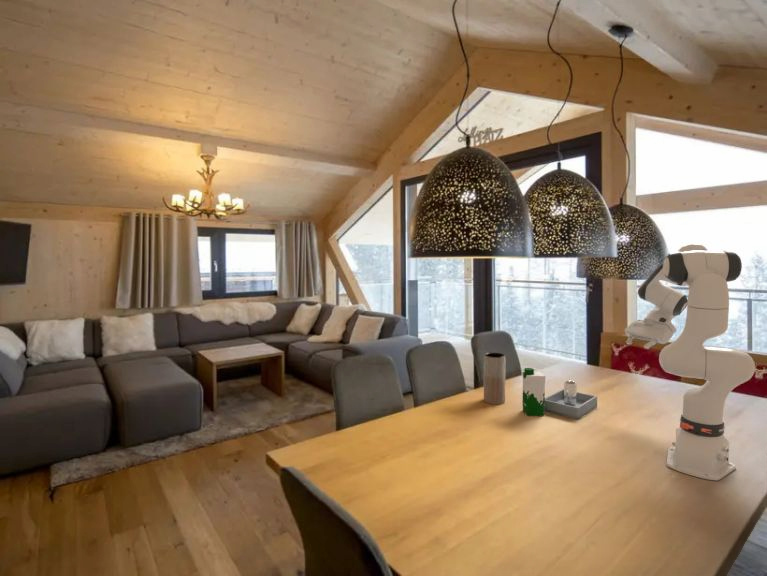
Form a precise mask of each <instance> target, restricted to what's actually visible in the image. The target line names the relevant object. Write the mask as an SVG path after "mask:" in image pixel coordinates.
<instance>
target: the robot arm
mask: <svg viewBox="0 0 767 576" xmlns="http://www.w3.org/2000/svg"><path fill="white" fill-rule="evenodd" d="M742 268H743V265H742V260H741V256H739V255H738V254H737V253H736V252H733V251H727V250H722V251H719V250H718V251H717V250H716V251H715V250H708V248H706V246H704V245H703V244H700V243H695V242H691V243H690V242H689V243H687V244H684V245H682V246H681V247H680V248H679V249H678V250H677V251H675V252H674V251H673V252H671V253H668V254H667V255H666V256H665V259H664V261H663V262H661V263H660V264H659V265H658V266H657V267H656V268H655V269H654V271H653V272H651V274H650V275H649V276H648V277H647V279H645V280H644V281H643V282H642V283H641V284H640V285H639V287H638V290H637V294H638V297H639V298H640V299H641V300H643V301H646V302H648V303H650V304H652V305H654V308H653V309H651V310H650V311H649V313H648V314H646V316H644V319H642V320H641V319H638V320H634V321H633V322H631V323H630V324H629V325H627V327H626V328H624V333H625V335H626V336H627V340H626V341H625V343H626V344H627V345H630V346H631V345H632V344H633V343H634V342H633V340H634V339H637V340H638V339H639V340H643V341H648V342H646V343H644V344H643V348H644V349H646V350H649V349H650V348H651V347H653V346H655V345H656V344H657V343H658V344H661V345H665V344H667V343H668V342H669V341H671V339H672V337H673V336H674V333H676V332H677V328H676V327H675V325H674V324H673V323H672V320H673V319H674V318H676V317H677V316H680V315H681V314H682V312H683V311H684V310H685V309H686V316H685V317H686V318H685V325H684V328H683V330H682V332H681V333H680V335H679V336H678V338H676V339H675V340H674V341H673V342H671V343H670V344H668V345H665V346H664V347H663V348H662V349H661V351H660V352H659V357H658V362H659V365H660V367H661V369H662V370H663V371H664V372H665V373H668V374H671V375H674V376H678V377H683V378H691V379H699V380H705V383H704V384H703V385H701V386H700V385H699V386H698V387H694V388H690V389H688V390H687V391H686V392H685V393H684V394H683V396H682V413H681V415H680V419H679V423H680V424H679V427H677V428H676V429H675V441H673V442H672V446H670V447H667V453H666V467H668V468H669V469H672V470H674V471H676V472H677V471H678V472H680V473H683V474H686V475H690V476H691V477H692V476H693V477H697V478H700V479H704V480H708V481H709V480H710V481H719V480H721V479H723V478H724V477H726V476H727V475H729V474H730V473H732V472H733V471H734V470H736V468H737V467H736V464H734V463H733V462H731V461H730V441H729V440H728V439H727V438H726V437H725V435H724V434H725V422H724V419H723V418H724V410H725V406H726V405H725V404H726V399H727V398H728V396H729V394H730V393H731V392H732V391H733V390H734V389H735V388H736V387H739V386H741V384H744V383H746V382H748V381H750V380H751V379H752V377H753V376H754V374H755V372H756V363H755V361H754V360H753V359H754V358H752V356H751V355H750V354H749V353H747V352H745V351H742V350H741V351H740V350H737V349H732V348H727V347H716V346H715V347H714V346H713V347H712V346H705V345H704V343H706V342H707V341H708V340H711V339H713V338H718V337H720V336H722V335H724V334H725V333H726V331H727V330H728V327H729V314H730V312H729V310H730V294H729V287H728V286H729V285H728V283H729V282H733V281H735V280H737V279H738V278H739V277H740V276H741V274H742V273H741V272H742ZM661 281H664V282H667V283H670V284H672V285H675V286H680V287H688V294H687V295H686V294H684V293H683V292H681V291H680V290H677V289H675V288H673V287H671V286H669V285H667V284H665V283H663V282H661Z"/></svg>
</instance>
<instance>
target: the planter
mask: <svg viewBox="0 0 767 576" xmlns="http://www.w3.org/2000/svg"><path fill="white" fill-rule="evenodd" d="M506 362H507V361H506V354H505V353H502V352H501V353H500V352H486V353H484V354H483V401H484V402H485V403H487V404H490V405H502V404H504V403H505V402H506V364H507V363H506Z"/></svg>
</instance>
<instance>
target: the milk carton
mask: <svg viewBox="0 0 767 576" xmlns="http://www.w3.org/2000/svg"><path fill="white" fill-rule="evenodd" d="M545 395H546V375H545V374H544V373H542V372H541V371H535V369H534V368H531V367H524V370H523V371H522V411H523V412H524V414H525V415H526V416H527V417H544V416H545V411H544V405H545V398H546V396H545Z"/></svg>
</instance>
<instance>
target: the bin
mask: <svg viewBox="0 0 767 576" xmlns="http://www.w3.org/2000/svg"><path fill="white" fill-rule="evenodd" d="M597 407H598V396H597V395H593V394H588V393H583V392H580V391H577V393H576V407H573V406H569V405H565V404H564V388H562V389H560V390H558V391H556V392H554V393H552V394H550V395H549V396H545V405H544V412H546V413H551V414H554V415H558V416H562V417H566V418H570V419H574V420H579V419H581V418H582V417H585V416H586V415H587V414H589V413H590V412H591V411H593V410H595V409H596V408H597Z"/></svg>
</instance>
